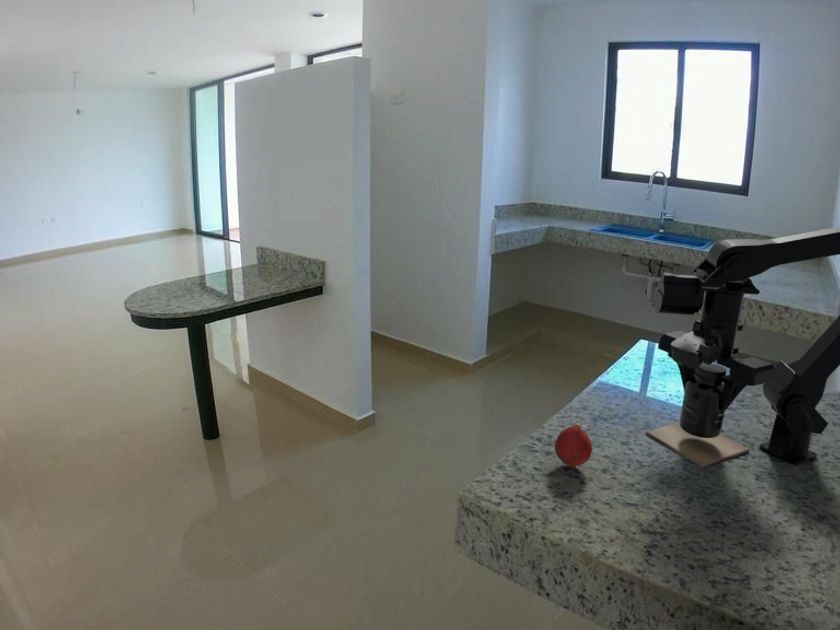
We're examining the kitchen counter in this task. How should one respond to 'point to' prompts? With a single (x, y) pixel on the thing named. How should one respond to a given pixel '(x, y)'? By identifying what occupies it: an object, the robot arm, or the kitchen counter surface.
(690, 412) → the supplement bottle
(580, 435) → the onion
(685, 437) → the tan board
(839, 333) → the robot arm
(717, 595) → the kitchen counter surface
